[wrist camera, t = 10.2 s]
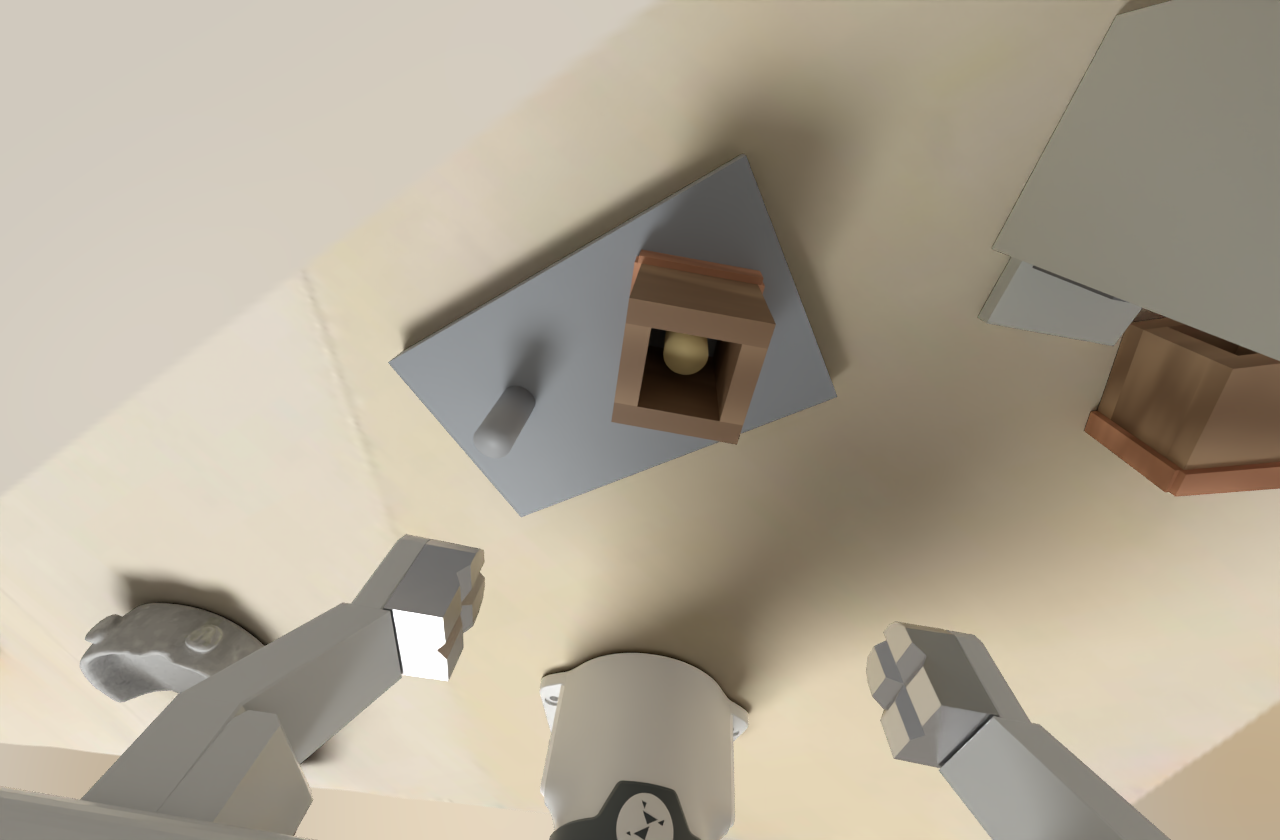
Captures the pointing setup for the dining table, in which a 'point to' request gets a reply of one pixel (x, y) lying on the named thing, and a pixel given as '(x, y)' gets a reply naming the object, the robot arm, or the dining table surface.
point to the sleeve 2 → (1191, 410)
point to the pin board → (605, 350)
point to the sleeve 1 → (698, 307)
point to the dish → (161, 650)
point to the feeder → (1158, 185)
